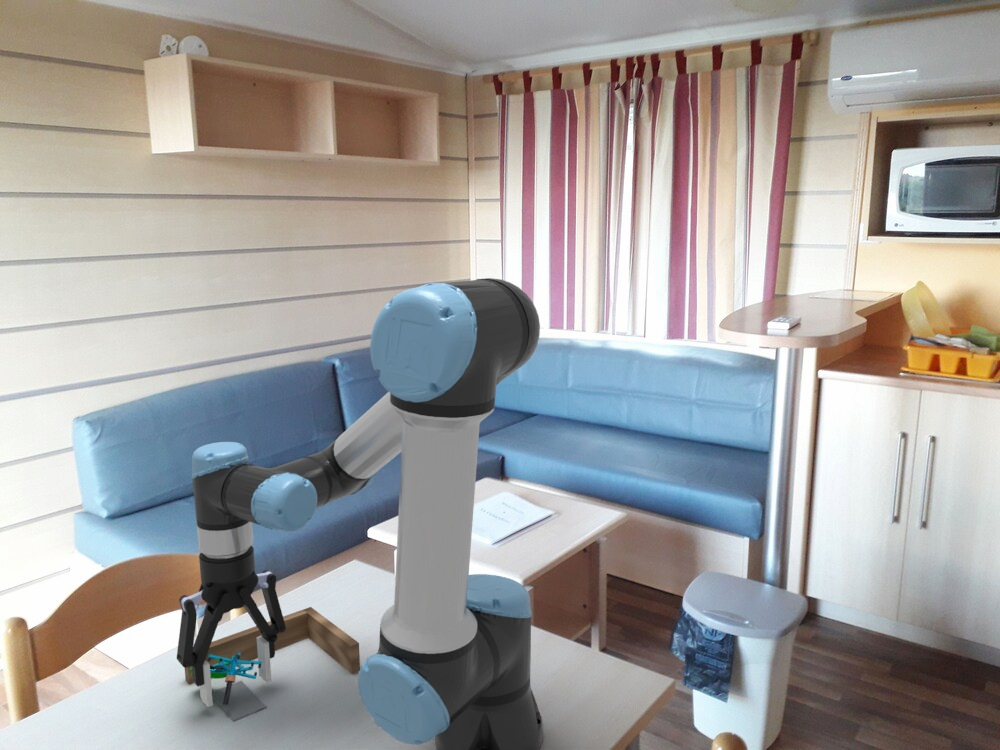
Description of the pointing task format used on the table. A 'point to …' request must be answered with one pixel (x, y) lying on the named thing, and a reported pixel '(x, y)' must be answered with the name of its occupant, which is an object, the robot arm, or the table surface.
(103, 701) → the table surface
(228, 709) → the pad
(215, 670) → the stick construction toy
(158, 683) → the table surface
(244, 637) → the wooden corner wall
